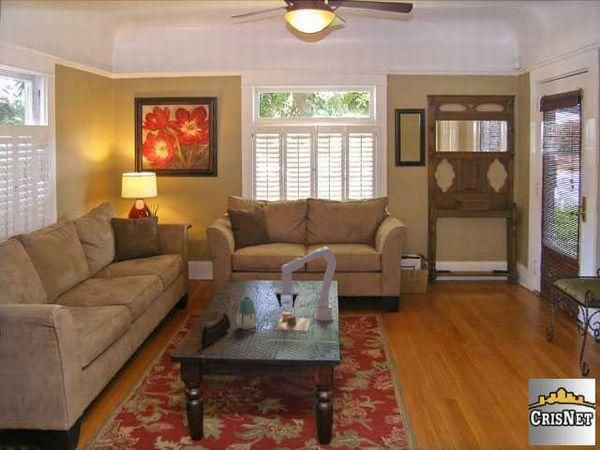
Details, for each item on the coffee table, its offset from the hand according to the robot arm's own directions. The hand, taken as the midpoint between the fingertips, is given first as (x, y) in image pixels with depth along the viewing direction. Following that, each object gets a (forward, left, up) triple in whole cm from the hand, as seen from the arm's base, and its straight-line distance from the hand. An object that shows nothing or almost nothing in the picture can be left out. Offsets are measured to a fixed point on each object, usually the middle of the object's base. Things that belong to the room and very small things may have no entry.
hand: (286, 306), depth 363 cm
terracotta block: (0, 0, -8) cm, 8 cm away
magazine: (+34, +36, -9) cm, 51 cm away
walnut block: (-4, +9, -8) cm, 13 cm away
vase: (+21, +16, -9) cm, 28 cm away
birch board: (-5, +8, -9) cm, 13 cm away
